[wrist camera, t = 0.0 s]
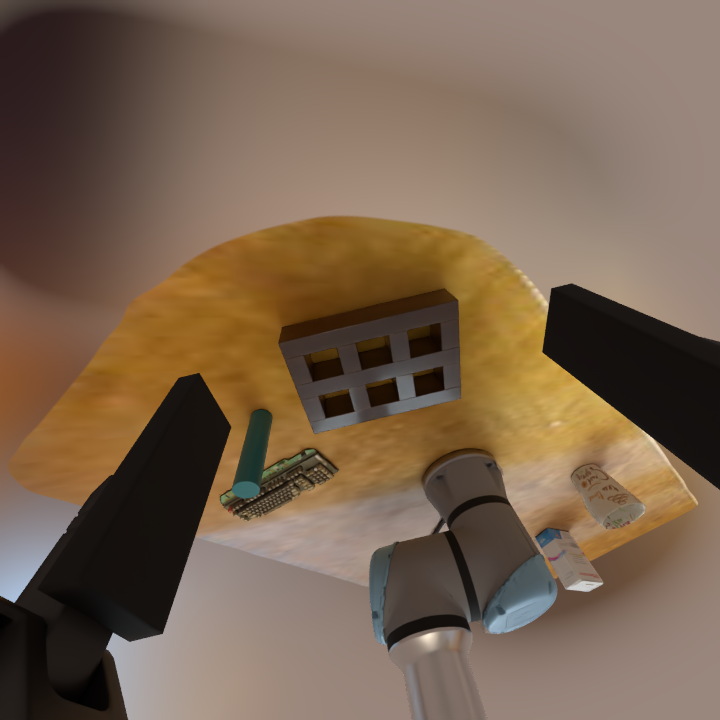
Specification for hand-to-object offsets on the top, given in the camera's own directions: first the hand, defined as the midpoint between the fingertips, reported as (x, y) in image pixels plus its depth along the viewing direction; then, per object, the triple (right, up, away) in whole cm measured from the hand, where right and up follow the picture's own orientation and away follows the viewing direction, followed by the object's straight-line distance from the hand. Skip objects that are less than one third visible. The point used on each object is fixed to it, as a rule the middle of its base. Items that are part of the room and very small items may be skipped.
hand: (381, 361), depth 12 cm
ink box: (+49, -45, +68) cm, 95 cm away
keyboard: (-16, -23, +45) cm, 53 cm away
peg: (-16, -9, +36) cm, 40 cm away
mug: (+49, -26, +56) cm, 79 cm away
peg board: (+1, +1, +33) cm, 33 cm away
